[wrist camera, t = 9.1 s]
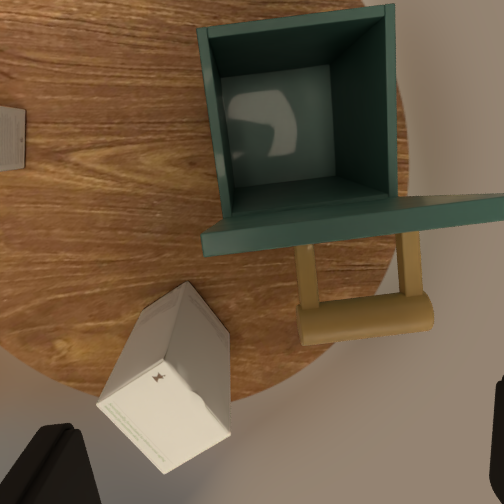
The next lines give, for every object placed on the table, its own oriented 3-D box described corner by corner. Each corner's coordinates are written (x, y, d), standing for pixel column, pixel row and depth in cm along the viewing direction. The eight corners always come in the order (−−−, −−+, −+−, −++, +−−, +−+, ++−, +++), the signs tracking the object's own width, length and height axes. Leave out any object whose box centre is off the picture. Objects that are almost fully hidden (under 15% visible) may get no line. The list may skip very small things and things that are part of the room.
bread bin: (213, 73, 35) (195, 27, 21) (334, 57, 35) (395, 2, 21) (229, 193, 39) (223, 223, 25) (340, 180, 38) (398, 201, 24)
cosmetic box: (141, 308, 42) (86, 402, 27) (191, 276, 41) (163, 354, 26) (187, 364, 44) (160, 480, 29) (235, 335, 43) (233, 438, 28)
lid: (199, 233, 13) (219, 376, 13) (539, 191, 13) (542, 337, 13) (222, 218, 24) (232, 296, 25) (400, 196, 24) (406, 274, 25)
